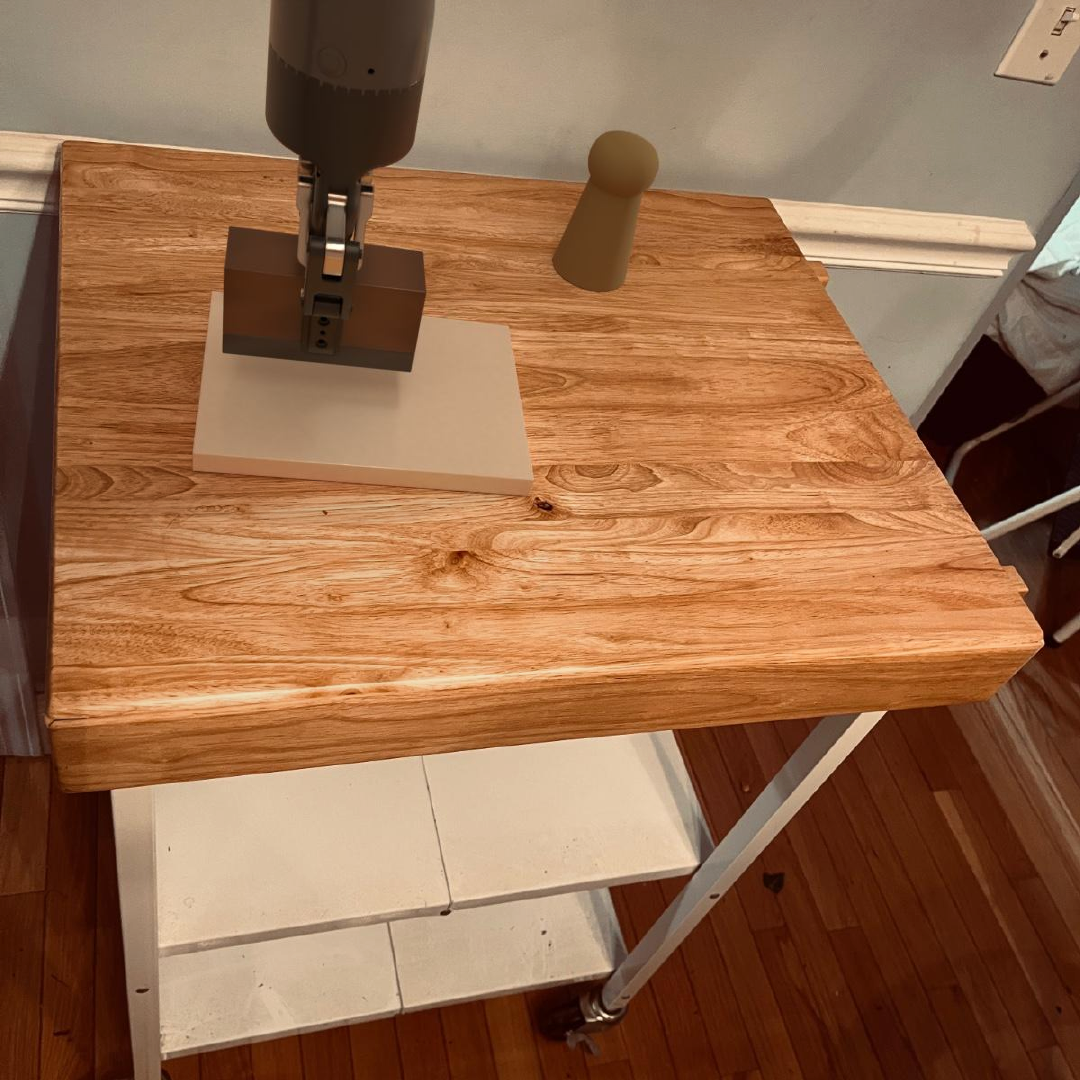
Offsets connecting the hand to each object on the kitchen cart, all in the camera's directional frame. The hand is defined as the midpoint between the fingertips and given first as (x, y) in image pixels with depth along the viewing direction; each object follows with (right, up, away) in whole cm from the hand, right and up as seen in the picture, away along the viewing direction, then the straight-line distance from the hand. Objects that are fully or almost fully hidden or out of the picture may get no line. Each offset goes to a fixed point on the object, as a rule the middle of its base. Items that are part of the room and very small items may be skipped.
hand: (320, 325), depth 64 cm
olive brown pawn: (+17, +9, +21) cm, 29 cm away
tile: (+2, -4, +5) cm, 7 cm away
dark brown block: (0, -1, +1) cm, 1 cm away
